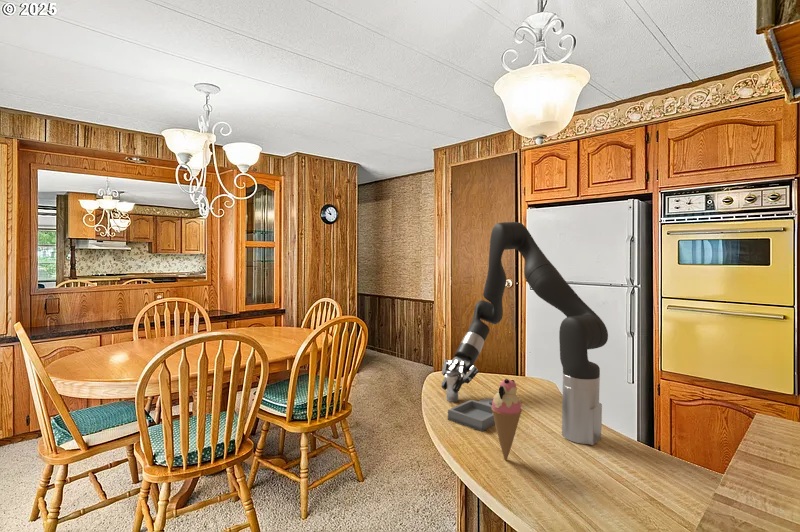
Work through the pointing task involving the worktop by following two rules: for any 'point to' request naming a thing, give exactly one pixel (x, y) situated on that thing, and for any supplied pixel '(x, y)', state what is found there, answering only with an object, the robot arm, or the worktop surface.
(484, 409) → the tray
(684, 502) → the worktop surface
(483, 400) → the pot lid
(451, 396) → the salt shaker
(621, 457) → the worktop surface
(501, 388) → the ice cream cone
